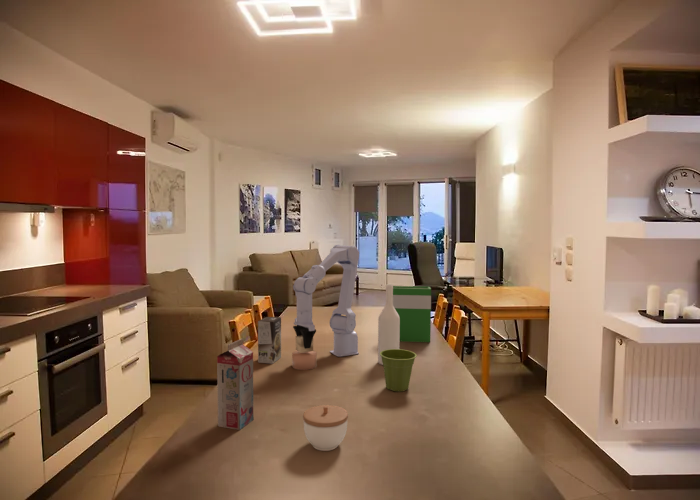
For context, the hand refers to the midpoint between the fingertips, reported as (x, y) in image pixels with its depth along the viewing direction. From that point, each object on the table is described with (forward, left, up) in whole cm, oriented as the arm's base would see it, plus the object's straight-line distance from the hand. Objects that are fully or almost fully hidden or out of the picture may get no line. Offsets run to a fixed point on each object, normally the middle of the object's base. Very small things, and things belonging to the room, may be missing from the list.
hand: (304, 346), depth 173 cm
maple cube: (0, 0, -2) cm, 2 cm away
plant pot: (-18, +35, -8) cm, 40 cm away
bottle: (-30, +11, -8) cm, 33 cm away
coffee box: (+9, -13, -8) cm, 18 cm away
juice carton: (+35, +37, -8) cm, 51 cm away
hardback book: (-58, -14, -8) cm, 60 cm away
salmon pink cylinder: (0, 0, -8) cm, 8 cm away
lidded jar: (+19, +59, -8) cm, 62 cm away
